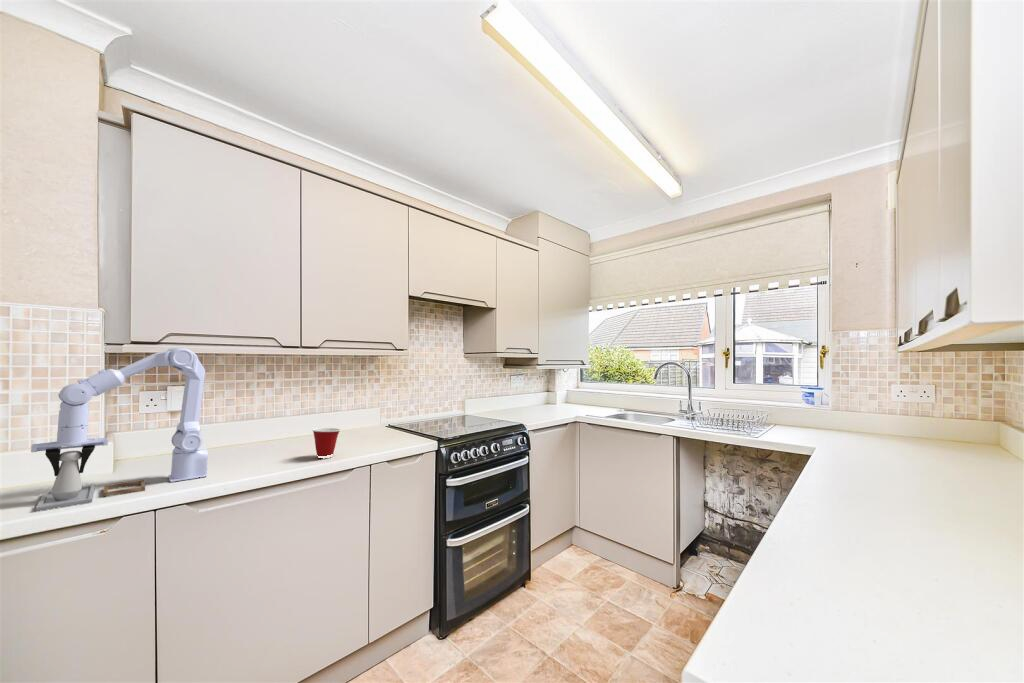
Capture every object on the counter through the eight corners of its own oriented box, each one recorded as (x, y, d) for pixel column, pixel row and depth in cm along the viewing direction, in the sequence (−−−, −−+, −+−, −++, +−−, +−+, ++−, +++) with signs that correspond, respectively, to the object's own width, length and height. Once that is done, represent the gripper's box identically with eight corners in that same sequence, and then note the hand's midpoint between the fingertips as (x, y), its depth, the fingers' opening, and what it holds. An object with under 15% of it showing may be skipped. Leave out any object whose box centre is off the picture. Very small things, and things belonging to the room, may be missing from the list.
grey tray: (94, 487, 120) (95, 484, 120) (91, 502, 109) (92, 498, 109) (44, 495, 113) (44, 491, 113) (35, 511, 102) (35, 507, 102)
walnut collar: (143, 483, 125) (144, 479, 125) (144, 490, 119) (145, 486, 119) (104, 489, 119) (104, 485, 119) (103, 497, 113) (103, 493, 113)
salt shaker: (61, 502, 107) (66, 454, 108) (43, 500, 108) (49, 453, 108) (87, 495, 113) (91, 450, 114) (70, 493, 113) (75, 448, 114)
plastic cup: (345, 455, 166) (346, 427, 167) (327, 461, 156) (328, 431, 156) (323, 453, 169) (324, 425, 169) (304, 459, 158) (306, 429, 159)
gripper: (109, 421, 120) (106, 466, 119) (35, 426, 109) (31, 475, 109) (109, 424, 115) (105, 471, 114) (31, 430, 104) (27, 481, 104)
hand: (69, 473), depth 111 cm, fingers closed on salt shaker, 4 cm apart
